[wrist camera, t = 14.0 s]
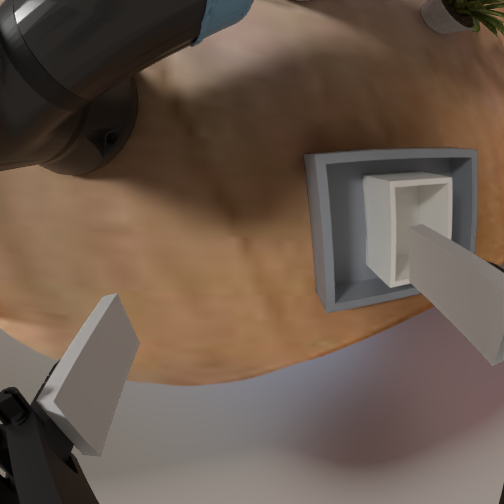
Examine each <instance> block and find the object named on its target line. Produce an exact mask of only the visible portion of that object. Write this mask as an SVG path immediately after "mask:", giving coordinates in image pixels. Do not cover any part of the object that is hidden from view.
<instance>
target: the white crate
mask: <svg viewBox="0 0 504 504" xmlns="http://www.w3.org/2000/svg"><path fill="white" fill-rule="evenodd" d="M362 179H363V192H364V209H365V232H366V265H367V266H368V267H369V268H370V269H371V270H372V271H373V272H374V273H375V274H376V275H377V276H378V277H379V278H380V279H381V280H383V281H384V282H385V283H386V284H387V285H388V286H389V287H390V288H392V287H397V286H401V285H406V284H410V282H409V227H411V226H415V225H419V224H423V225H425V226H427V227H429V228H431V229H432V230H434V231H436V232H438V233H440V234H441V235H443V236H445V237H446V238H448V239H450V240H451V236H452V177H448V176H443V175H438V174H432V173H427V172H421V171H412V172H396V173H382V174H369V175H362Z"/></svg>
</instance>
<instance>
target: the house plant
mask: <svg viewBox="0 0 504 504" xmlns="http://www.w3.org/2000/svg"><path fill="white" fill-rule="evenodd" d="M503 1H504V0H427V1H426V3H425V4H424V5H423V6H422V8H421V14H422V17H423V19H424V21H425V23H426V24H427V25H428V26H429V27H430V28H431V29H432V30H434V31H436V32H438V33H440V34H448V33H454V32H461V31H468V30H473V31H472V32H479V31H480V25H479V23H480V22H482V23H483V24H484V25H485V26H486V27H487V28H488V29H489V30H490V31H491V32H493V33H494V34H495V35H496V36H497V30H496V28H497V29H498V30H499V31H500V32H501V33H502V34H503V35H504V25H503V24H502V21H501V20H499V19H497V18H495V17H493V16H491V15H489V14H492V15H496V16H500V17H503V18H504V13H502V12H498V11H494V10H488V9H494V8H501V7H504V3H499V2H503ZM496 3H498V4H496ZM484 4H491V5H486V6H483V5H484ZM482 12H483V13H482ZM486 13H487V14H486ZM503 23H504V22H503ZM495 27H496V28H495Z"/></svg>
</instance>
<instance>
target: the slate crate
mask: <svg viewBox="0 0 504 504" xmlns="http://www.w3.org/2000/svg"><path fill="white" fill-rule="evenodd" d="M303 157H304V165H305V174H306V182H307V192H308V201H309V211H310V222H311V233H312V245H313V257H314V271H315V286H316V293H317V295H318V297H319V299H320V301H321V303H322V305H323V307H324V309H325V311H326V313H330V312H336V311H341V310H346V309H351V308H357V307H362V306H366V305H371V304H376V303H381V302H385V301H390V300H394V299H399V298H403V297H408V296H412V295H416V294H420V293H421V292H420V291H418V290H417V289H416V288H415V287H414V286H413V285H412V284H411V283H410V284H406V285H401V286H397V287H392V288H390V287H389V286H388V285H387V284H386V283H385V282H384V281H383V280H381V279H380V278H379V277H378V276H377V275H376V274H375V273H374V272H373V271H372V270H371V269H370V268H369V267H368V266H367V265H366V232H365V209H364V192H363V179H362V175H369V174H382V173H396V172H412V171H421V172H427V173H432V174H438V175H443V176H448V177H452V236H451V240H452V241H453V242H455V243H457V244H458V245H460V246H462V247H463V248H465V249H467V250H468V251H470V252H472V253H473V254H475V243H476V230H477V209H478V170H477V150H476V149H467V148H453V147H411V148H380V149H361V150H346V151H333V152H321V153H310V154H303Z"/></svg>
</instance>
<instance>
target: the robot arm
mask: <svg viewBox="0 0 504 504" xmlns="http://www.w3.org/2000/svg"><path fill="white" fill-rule="evenodd" d="M253 1H254V0H5V1H4V2H3V3H2V4H1V5H0V171H4V170H10V169H15V168H21V167H26V166H32V165H40V166H42V167H44V168H46V169H49V170H50V171H53V172H55V173H58V174H64V175H76V174H82V173H87V172H91V171H94V170H96V169H98V168H100V167H102V166H104V165H105V164H107V163H108V162H109V161H110V160H112V159H113V158H114V157H115V156H116V155H117V154H118V153H119V151H120V150H121V149H122V148H123V146H124V145H125V143H126V142H127V140H128V138H129V136H130V134H131V132H132V129H133V127H134V124H135V120H136V116H137V109H138V96H137V90H136V86H135V82H134V80H133V78H132V76H133V75H135V74H136V73H138V72H140V71H142V70H143V69H145V68H147V67H149V66H151V65H153V64H154V63H156V62H158V61H160V60H162V59H164V58H166V57H168V56H170V55H172V54H174V53H176V52H178V51H180V50H182V49H184V48H186V47H188V46H191V47H193V46H195V45H198V44H199V43H200V42H202V40H203V39H204V38H206V37H208V36H210V35H212V34H214V33H216V32H218V31H220V30H223V29H225V28H227V27H229V26H232V25H234V24H236V23H237V22H239V21H240V20H242V19H243V18H244V17H245V16H246V14H247V13H248V11H249V10H250V8H251V5H252V4H253ZM409 282H410V283H411V284H412V285H413V286H414V287H415V288H416V289H417V290H418V291H420V292H421V293H422V294H423V295H424V296H425V297H426V298H427V299H428V300H429V301H430V302H431V303H432V304H433V305H434V306H435V307H436V308H437V309H438V310H439V311H440V312H441V313H443V315H444V316H445V317H446V318H447V319H448V320H449V321H450V322H451V323H452V324H453V325H454V326H455V327H456V328H457V329H458V330H459V331H460V332H461V333H462V334H463V335H464V336H465V337H466V338H467V339H468V340H469V341H470V343H472V345H474V347H475V348H476V349H477V350H478V351H479V352H480V353H481V354H482V355H483V357H484V358H485V359H486V360H487V361H488V362H489V363H490V364H491V365H492V366H493V367H494V366H495V365H497V364H499V363H500V362H502V361H504V269H502V268H501V267H499V266H498V265H496V264H494V263H491V262H488V261H485V260H483V259H481V258H480V257H478V256H477V255H475V254H473V253H472V252H470V251H468V250H467V249H465V248H463V247H462V246H460V245H458V244H457V243H455V242H453V241H452V240H450V239H448V238H446V237H445V236H443V235H441V234H440V233H438V232H436V231H434V230H432V229H431V228H429V227H427V226H425V225H423V224H419V225H415V226H411V227H409ZM139 344H140V342H139V340H138V338H137V336H136V333H135V331H134V329H133V327H132V325H131V323H130V321H129V318H128V316H127V314H126V312H125V310H124V307H123V305H122V303H121V300H120V298H119V296H118V293H115V294H111V295H106V296H103V297H102V299H101V300H100V301H99V303H98V304H97V306H96V307H95V309H94V310H93V311H92V313H91V314H90V316H89V317H88V319H87V320H86V322H85V323H84V325H83V326H82V328H81V329H80V331H79V332H78V334H77V335H76V337H75V338H74V340H73V341H72V343H71V344H70V346H69V347H68V349H67V350H66V352H65V354H64V355H63V357H62V358H61V359H60V360H59V361H58V362H57V363H56V364H55V365H54V366H53V368H52V370H51V371H50V373H49V376H47V378H46V379H45V381H44V382H45V383H43V384H42V386H41V388H40V389H39V391H38V393H37V394H36V396H35V398H34V400H33V402H32V403H31V405H29V404H28V402H27V401H26V400H25V398H24V397H23V396H22V394H21V393H20V392H19V390H18V389H17V388H15V387H9V388H6V389H4V390H2V391H1V392H0V420H1V422H2V423H3V424H0V468H1V469H2V470H4V471H5V472H6V477H5V478H4V477H2V475H0V504H99V502H98V501H97V499H96V497H95V495H94V493H93V491H92V490H91V488H90V486H89V484H88V482H87V480H86V478H85V476H84V474H83V471H82V469H81V468H80V465H79V463H78V461H77V458H76V457H75V456H74V455H73V454H72V453H71V451H72V448H73V445H74V446H75V447H76V448H77V449H78V450H79V451H80V452H81V453H82V454H83V455H90V456H101V454H102V450H103V447H104V444H105V441H106V437H107V434H108V431H109V428H110V425H111V422H112V419H113V416H114V413H115V409H116V407H117V404H118V401H119V398H120V395H121V392H122V390H123V387H124V384H125V381H126V379H127V376H128V373H129V370H130V368H131V365H132V362H133V360H134V357H135V354H136V352H137V349H138V346H139ZM499 504H504V485H503V490H502V494H501V498H500V502H499Z"/></svg>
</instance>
